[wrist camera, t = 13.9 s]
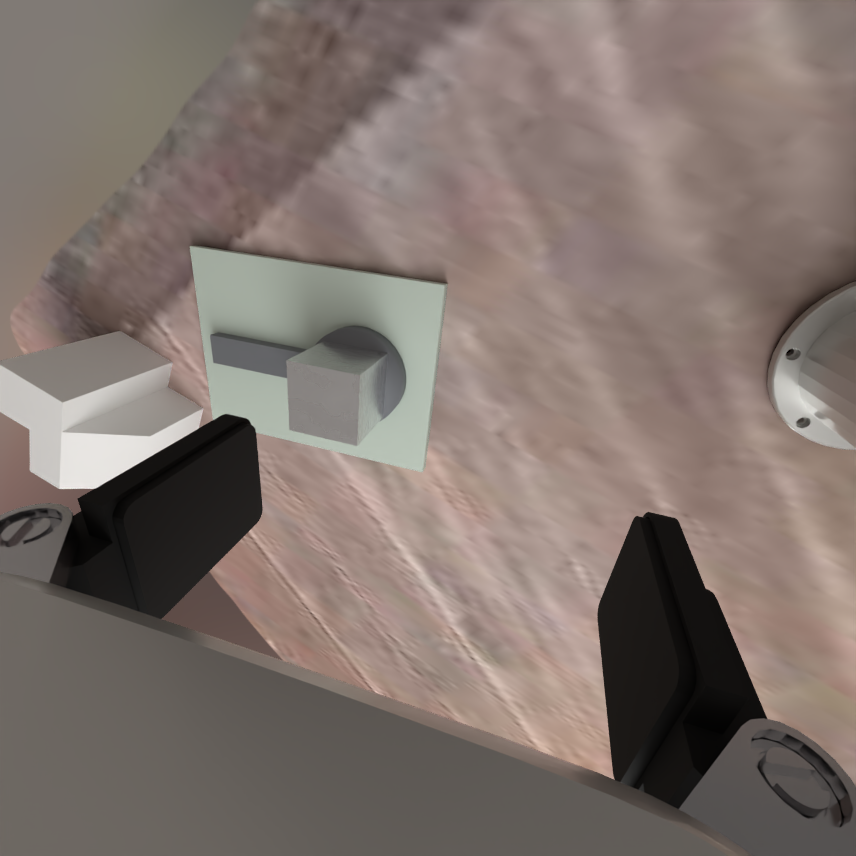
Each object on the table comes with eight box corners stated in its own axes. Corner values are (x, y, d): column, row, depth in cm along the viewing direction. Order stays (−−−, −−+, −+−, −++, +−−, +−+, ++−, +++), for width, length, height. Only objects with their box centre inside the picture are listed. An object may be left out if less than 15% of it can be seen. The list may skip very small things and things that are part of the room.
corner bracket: (120, 330, 47) (-5, 362, 37) (209, 384, 47) (109, 431, 36) (111, 406, 52) (0, 453, 42) (192, 455, 52) (100, 513, 42)
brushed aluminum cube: (387, 353, 37) (359, 375, 32) (383, 416, 40) (357, 446, 35) (323, 341, 38) (286, 360, 33) (323, 403, 41) (289, 430, 36)
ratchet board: (447, 283, 36) (428, 294, 31) (425, 467, 44) (407, 501, 39) (197, 245, 40) (142, 249, 35) (219, 418, 49) (178, 443, 43)
